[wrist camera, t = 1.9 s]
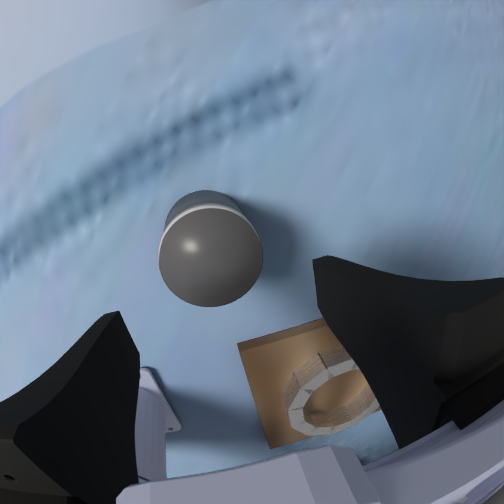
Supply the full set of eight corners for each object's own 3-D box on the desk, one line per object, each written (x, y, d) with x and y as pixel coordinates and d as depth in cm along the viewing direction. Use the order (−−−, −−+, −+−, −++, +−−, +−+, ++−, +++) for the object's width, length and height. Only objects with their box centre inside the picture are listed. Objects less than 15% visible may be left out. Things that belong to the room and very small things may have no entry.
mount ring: (289, 431, 27) (295, 446, 26) (275, 365, 24) (281, 382, 22) (378, 398, 28) (386, 411, 26) (383, 327, 25) (395, 341, 23)
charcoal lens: (177, 276, 21) (175, 318, 16) (154, 201, 19) (143, 225, 14) (253, 256, 21) (272, 292, 17) (236, 180, 19) (252, 197, 15)
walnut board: (267, 441, 29) (270, 449, 28) (236, 343, 23) (239, 351, 23) (390, 397, 30) (395, 402, 29) (400, 290, 25) (407, 296, 24)
